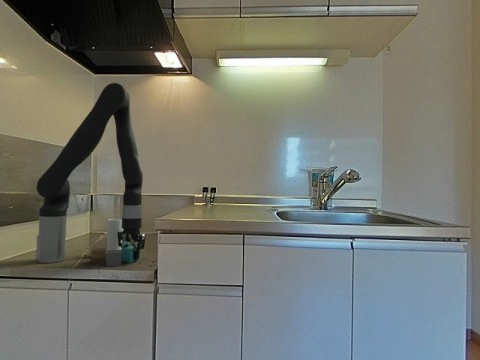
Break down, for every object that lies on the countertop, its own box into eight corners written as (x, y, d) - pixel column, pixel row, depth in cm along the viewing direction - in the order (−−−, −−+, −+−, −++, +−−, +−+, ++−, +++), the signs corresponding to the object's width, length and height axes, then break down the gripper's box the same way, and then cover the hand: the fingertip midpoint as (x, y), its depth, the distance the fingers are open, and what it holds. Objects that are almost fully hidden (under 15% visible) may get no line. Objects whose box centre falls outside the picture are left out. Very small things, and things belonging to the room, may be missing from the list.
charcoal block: (120, 266, 124) (121, 252, 124) (106, 266, 123) (106, 253, 123) (120, 263, 129) (121, 249, 129) (106, 263, 127) (107, 250, 127)
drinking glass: (104, 256, 138) (105, 220, 138) (107, 253, 145) (108, 218, 145) (122, 256, 140) (123, 220, 140) (123, 253, 146) (124, 218, 146)
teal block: (129, 262, 130) (130, 249, 130) (121, 260, 133) (121, 248, 133) (139, 260, 134) (140, 247, 134) (131, 258, 137) (131, 246, 137)
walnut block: (105, 263, 127) (105, 250, 127) (91, 264, 126) (91, 250, 126) (105, 260, 132) (106, 247, 132) (91, 261, 130) (92, 248, 130)
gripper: (112, 215, 134) (110, 258, 134) (137, 218, 127) (135, 263, 127) (127, 214, 141) (125, 255, 140) (151, 217, 133) (150, 259, 133)
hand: (130, 258), depth 133 cm, fingers open, 5 cm apart
